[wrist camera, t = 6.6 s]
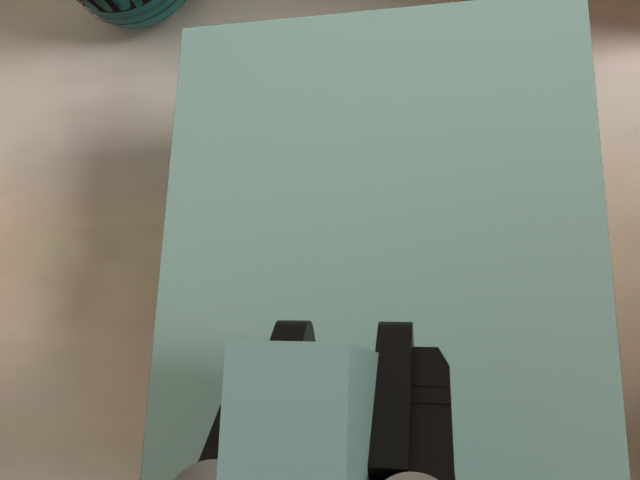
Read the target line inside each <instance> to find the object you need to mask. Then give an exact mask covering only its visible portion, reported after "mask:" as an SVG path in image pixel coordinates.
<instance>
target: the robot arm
mask: <svg viewBox="0 0 640 480" xmlns="http://www.w3.org/2000/svg"><path fill="white" fill-rule="evenodd" d="M269 341H310V342H316V341H315V335H314V329H313V324H312V322H311V321H306V320H278V321H277V322H276V323H275V326H274V329H273V332H272V335H271V337H270V340H269ZM375 352H378V353H379V355H378V365H377V375H376V385H375V395H374V405H373V415H372V425H371V436H370V446H369V456H368V466H367V468H368V477H369V480H456V479H455V470H454V449H453V428H452V408H451V387H450V366H449V364H448V362H447V361H446V359H445V357H444V356H443V354H442V352H441V351H440V349H439V348H438V347H414V333H413V322H382V321H379V323H378V329H377V338H376V348H375ZM220 416H221V405H220V407H219V410H218V412H217V415H216V417H215V420H214V423H213V425H212V428H211V430H210V433H209V435H208V438H207V440H206V443H205V446H204V448H203V451H202V453H201V456H200V458H199V460H198V462H197V463H195V464H193V465H191V466H189V467H187V468H186V469H184V470H183V471H182V472H181V473H180V474H179V475H178V476H177V477H176V478H175V479H174V480H216V477H217V462H218V446H219V431H220Z"/></svg>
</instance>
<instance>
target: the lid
mask: <svg viewBox="0 0 640 480" xmlns="http://www.w3.org/2000/svg"><path fill="white" fill-rule="evenodd" d="M278 320H306V321H311V322H312V324H313V329H314V335H315V341H316V342H310V341H269V340H270V337H271V335H272V332H273V329H274V326H275V323H276V322H277V321H278ZM379 321H382V322H413V333H414V347H438V348H439V349H440V351H441V352H442V354H443V356H444V357H445V359H446V361H447V362H448V364H449V366H450V387H451V408H452V428H453V449H454V470H455V479H456V480H631V479H630V468H629V456H628V445H627V434H626V423H625V412H624V400H623V389H622V378H621V367H620V356H619V344H618V333H617V322H616V311H615V300H614V288H613V277H612V266H611V255H610V244H609V232H608V221H607V210H606V199H605V188H604V176H603V165H602V154H601V143H600V132H599V120H598V109H597V98H596V87H595V76H594V64H593V53H592V42H591V31H590V20H589V8H588V0H470V1H460V2H449V3H439V4H429V5H418V6H408V7H398V8H387V9H377V10H366V11H356V12H346V13H335V14H325V15H314V16H304V17H294V18H283V19H273V20H262V21H252V22H242V23H231V24H221V25H210V26H200V27H190V28H182V39H181V50H180V60H179V71H178V82H177V92H176V103H175V113H174V124H173V135H172V145H171V156H170V167H169V177H168V188H167V199H166V209H165V220H164V231H163V241H162V252H161V263H160V273H159V284H158V294H157V305H156V316H155V326H154V337H153V348H152V358H151V369H150V380H149V390H148V401H147V412H146V422H145V433H144V443H143V454H142V465H141V475H140V480H174V479H175V478H176V477H177V476H178V475H179V474H180V473H181V472H182V471H183V470H184V469H186V468H187V467H189V466H191V465H193V464H195V463H197V462H198V460H199V458H200V456H201V453H202V451H203V448H204V446H205V443H206V440H207V438H208V435H209V433H210V430H211V428H212V425H213V423H214V420H215V417H216V415H217V412H218V410H219V407H220V405H221V416H220V431H219V446H218V462H217V477H216V480H369V477H368V468H367V466H368V456H369V446H370V436H371V425H372V415H373V405H374V395H375V385H376V375H377V365H378V355H379V353H378V352H375V348H376V338H377V329H378V323H379Z"/></svg>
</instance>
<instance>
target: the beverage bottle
mask: <svg viewBox="0 0 640 480" xmlns="http://www.w3.org/2000/svg"><path fill="white" fill-rule="evenodd" d="M77 1H78V0H77ZM79 1H81V2H82V1H83V2H84V3H85V4H86V5H87V6H88V8H89V9H90V10H91V11H92V13H93V14H94V15H95V14H96V15H97V16H98V17H100V18H101V19H103V20H105V21H107V23H111V24H113V25H115V26H118V27H122V28H142V27H147V26H150V25H153V24H156V23H158V22H160V21H162V20H164V19H166V18H167V17H169V16H170V15H171V14H173V13H174V12H175V11H176V10H177V9H178V8H179V7H180V6H181V5H182V4H183V3H184V2H185V0H79ZM79 1H78V2H79ZM83 2H82V3H83ZM84 3H83V4H82V5H84V6H86V5H85V4H84ZM84 6H83V7H84ZM87 6H86V7H87ZM85 9H86V8H85ZM88 11H89V10H88ZM89 12H90V11H89ZM91 15H92V14H91ZM97 19H98V18H97ZM99 20H100V19H99ZM103 20H101V21H103ZM105 21H104V22H105Z"/></svg>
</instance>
